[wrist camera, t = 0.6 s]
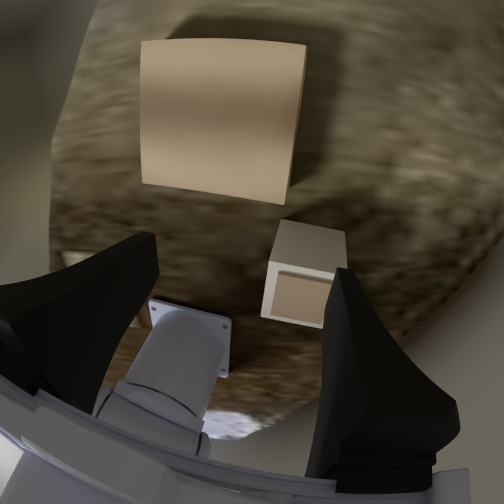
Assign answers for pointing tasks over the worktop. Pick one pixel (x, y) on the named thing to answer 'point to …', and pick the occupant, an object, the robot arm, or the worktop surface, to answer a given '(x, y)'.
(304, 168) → the worktop surface
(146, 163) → the maple block
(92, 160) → the worktop surface
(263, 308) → the box
